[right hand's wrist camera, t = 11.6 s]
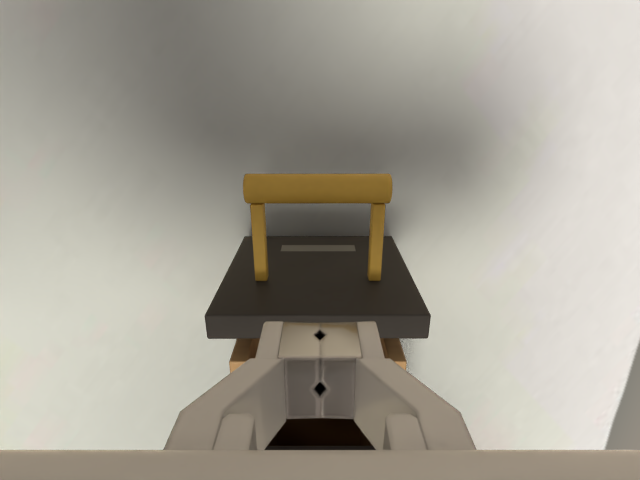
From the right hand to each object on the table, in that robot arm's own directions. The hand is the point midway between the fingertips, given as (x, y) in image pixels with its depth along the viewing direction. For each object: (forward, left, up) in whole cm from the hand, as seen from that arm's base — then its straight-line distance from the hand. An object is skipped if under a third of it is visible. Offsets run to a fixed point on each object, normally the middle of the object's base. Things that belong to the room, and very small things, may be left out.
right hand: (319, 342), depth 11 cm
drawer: (+8, -6, -15) cm, 18 cm away
